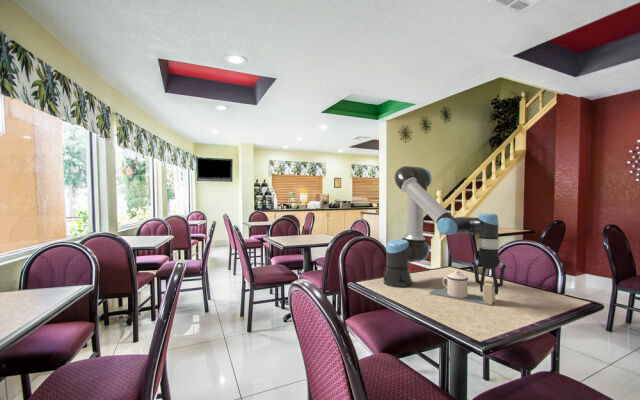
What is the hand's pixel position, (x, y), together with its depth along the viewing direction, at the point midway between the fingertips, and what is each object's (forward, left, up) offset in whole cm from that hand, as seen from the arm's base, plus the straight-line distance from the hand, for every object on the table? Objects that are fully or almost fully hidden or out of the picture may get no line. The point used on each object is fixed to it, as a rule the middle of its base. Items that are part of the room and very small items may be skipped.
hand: (489, 300), depth 126 cm
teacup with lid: (-14, 0, 0) cm, 14 cm away
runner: (-12, 0, -1) cm, 12 cm away
